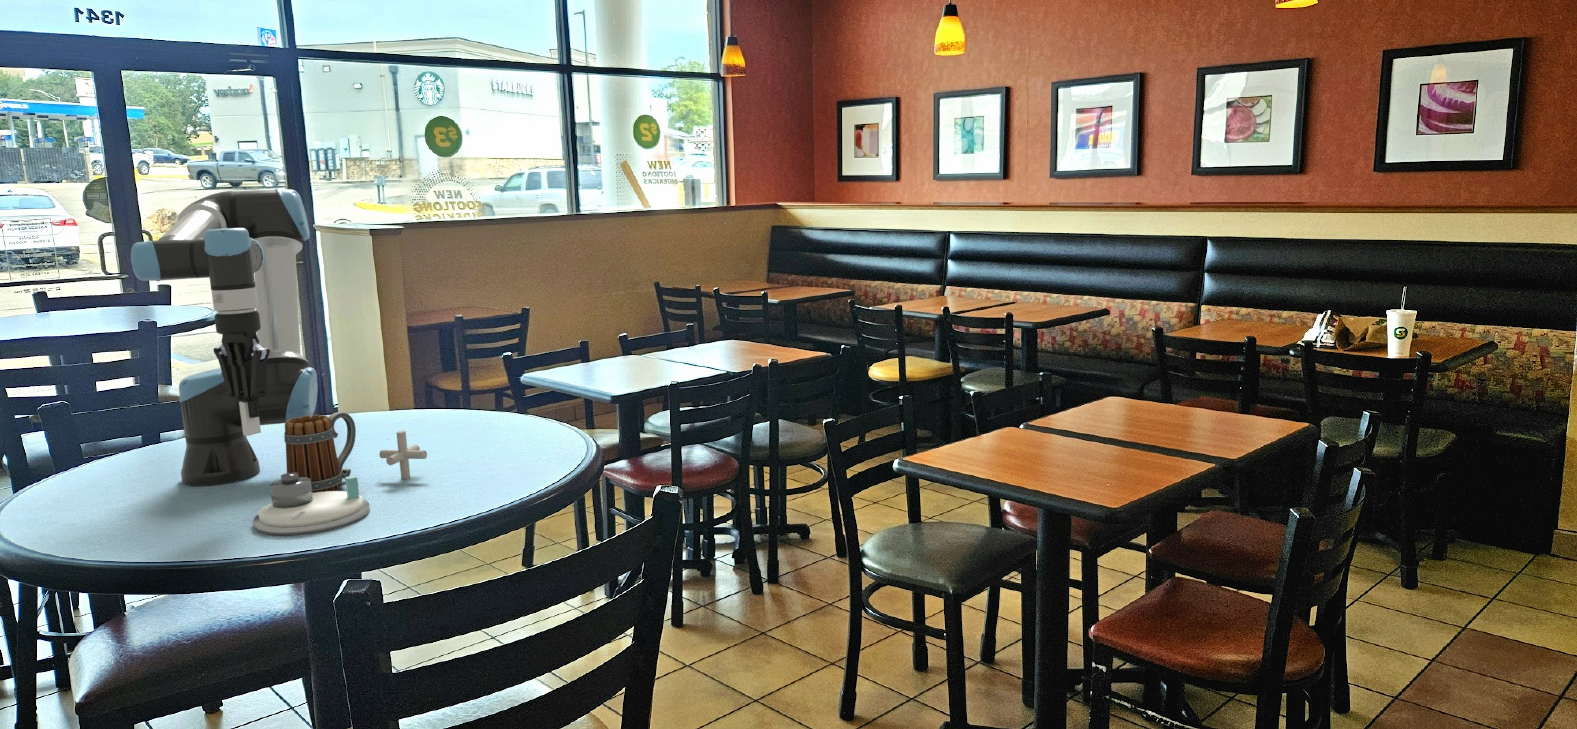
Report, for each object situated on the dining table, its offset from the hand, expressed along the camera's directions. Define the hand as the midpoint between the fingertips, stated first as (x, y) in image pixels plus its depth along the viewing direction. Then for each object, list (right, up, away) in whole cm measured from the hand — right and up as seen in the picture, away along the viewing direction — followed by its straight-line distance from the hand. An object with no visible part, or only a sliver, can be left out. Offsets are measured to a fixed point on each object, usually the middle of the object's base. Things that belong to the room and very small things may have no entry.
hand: (252, 433), depth 206 cm
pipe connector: (+21, -11, +22) cm, 33 cm away
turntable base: (+13, -16, -3) cm, 21 cm away
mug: (+7, -12, +17) cm, 22 cm away
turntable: (+13, -14, -3) cm, 20 cm away
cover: (+8, -13, -2) cm, 16 cm away
